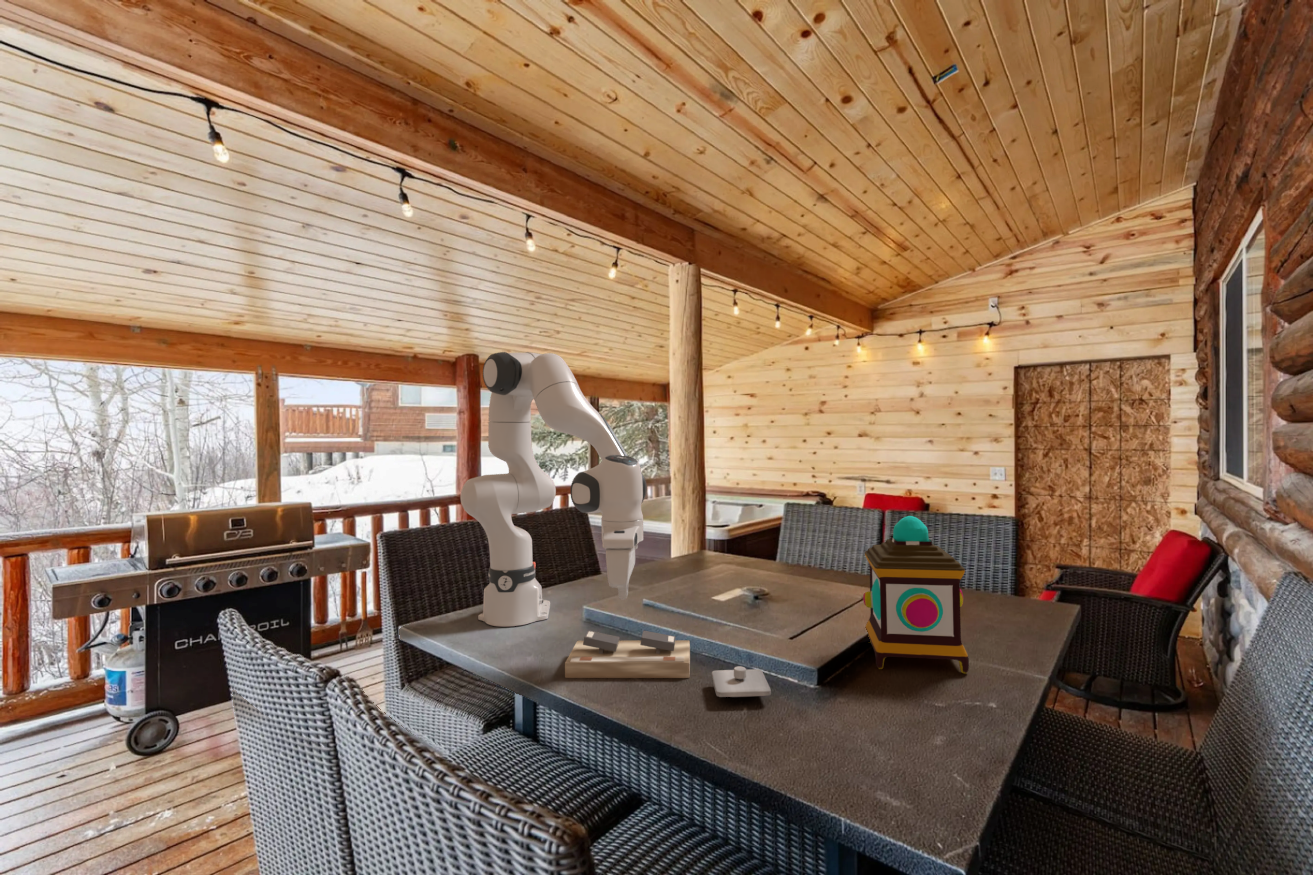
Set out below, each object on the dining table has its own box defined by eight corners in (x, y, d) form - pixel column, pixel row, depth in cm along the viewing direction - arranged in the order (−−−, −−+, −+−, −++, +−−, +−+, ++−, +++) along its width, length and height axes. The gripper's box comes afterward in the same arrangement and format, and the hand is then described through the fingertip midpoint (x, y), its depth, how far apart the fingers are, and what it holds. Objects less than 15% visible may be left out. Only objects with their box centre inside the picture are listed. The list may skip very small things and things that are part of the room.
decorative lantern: (858, 638, 140) (855, 509, 140) (950, 642, 136) (947, 509, 136) (871, 672, 121) (867, 522, 120) (978, 678, 116) (975, 523, 116)
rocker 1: (586, 637, 130) (588, 629, 130) (618, 644, 129) (619, 636, 129) (582, 644, 125) (584, 636, 125) (615, 651, 125) (617, 643, 125)
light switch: (772, 706, 107) (771, 677, 107) (717, 707, 107) (716, 679, 107) (761, 683, 117) (761, 657, 117) (711, 684, 117) (710, 658, 117)
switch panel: (577, 653, 134) (577, 636, 134) (690, 653, 133) (689, 635, 133) (565, 677, 121) (564, 657, 121) (689, 677, 120) (688, 657, 120)
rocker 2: (642, 637, 129) (643, 630, 129) (674, 643, 129) (675, 636, 129) (640, 644, 125) (641, 637, 125) (673, 651, 124) (674, 643, 124)
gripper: (613, 524, 138) (614, 584, 138) (600, 541, 117) (601, 612, 118) (641, 524, 138) (641, 584, 138) (633, 541, 117) (634, 612, 117)
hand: (623, 597), depth 128 cm, fingers closed
